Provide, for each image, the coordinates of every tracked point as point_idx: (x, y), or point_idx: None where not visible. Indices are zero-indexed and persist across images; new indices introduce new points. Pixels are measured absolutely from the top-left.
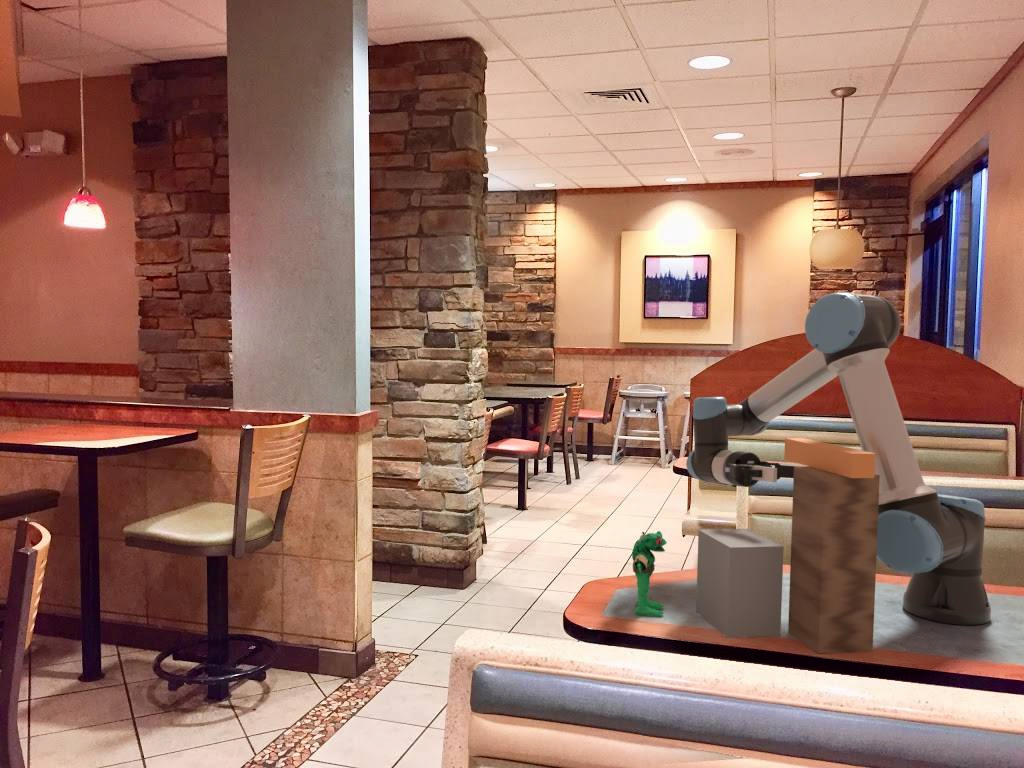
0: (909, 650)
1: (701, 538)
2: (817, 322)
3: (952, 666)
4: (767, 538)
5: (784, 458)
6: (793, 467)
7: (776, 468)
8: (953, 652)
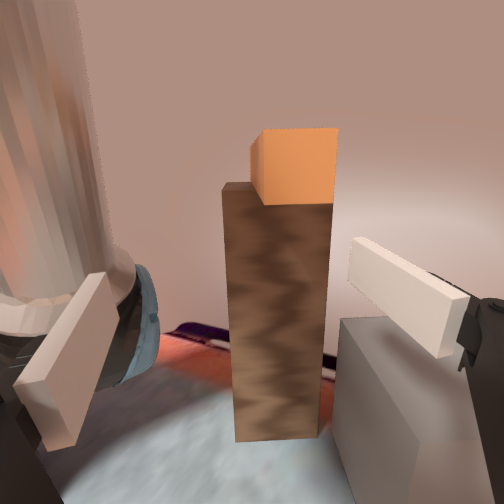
0: (193, 381)
1: None
2: None
3: (186, 351)
4: (363, 353)
5: (332, 200)
6: (61, 501)
7: (353, 239)
8: (152, 375)
